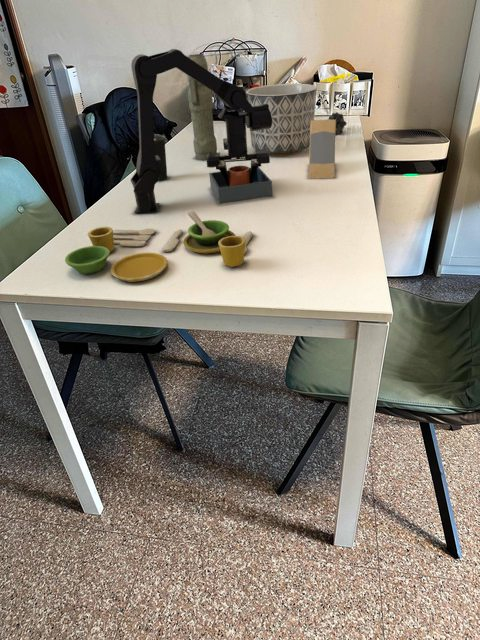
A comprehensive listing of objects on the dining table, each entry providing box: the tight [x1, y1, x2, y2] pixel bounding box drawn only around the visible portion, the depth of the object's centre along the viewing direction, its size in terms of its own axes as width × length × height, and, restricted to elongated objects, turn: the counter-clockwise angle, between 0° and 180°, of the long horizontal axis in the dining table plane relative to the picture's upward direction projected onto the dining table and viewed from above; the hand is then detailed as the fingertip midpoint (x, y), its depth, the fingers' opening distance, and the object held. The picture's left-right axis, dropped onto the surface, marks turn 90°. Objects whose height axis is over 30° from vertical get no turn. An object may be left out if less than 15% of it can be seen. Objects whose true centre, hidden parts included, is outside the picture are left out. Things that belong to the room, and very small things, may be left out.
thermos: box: [186, 53, 218, 161], centre depth 167 cm, size 9×12×35 cm
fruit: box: [327, 112, 348, 135], centre depth 194 cm, size 9×8×15 cm
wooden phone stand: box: [308, 119, 337, 179], centre depth 148 cm, size 9×15×15 cm, turn 172°
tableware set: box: [64, 209, 254, 283], centre depth 106 cm, size 41×28×6 cm
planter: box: [245, 83, 318, 157], centre depth 171 cm, size 26×26×22 cm
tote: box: [208, 167, 273, 205], centre depth 139 cm, size 16×16×5 cm
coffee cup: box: [227, 165, 250, 186], centre depth 138 cm, size 6×6×7 cm
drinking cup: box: [154, 133, 168, 182], centre depth 152 cm, size 8×8×20 cm
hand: (239, 186), depth 139 cm, fingers closed on coffee cup, 6 cm apart
